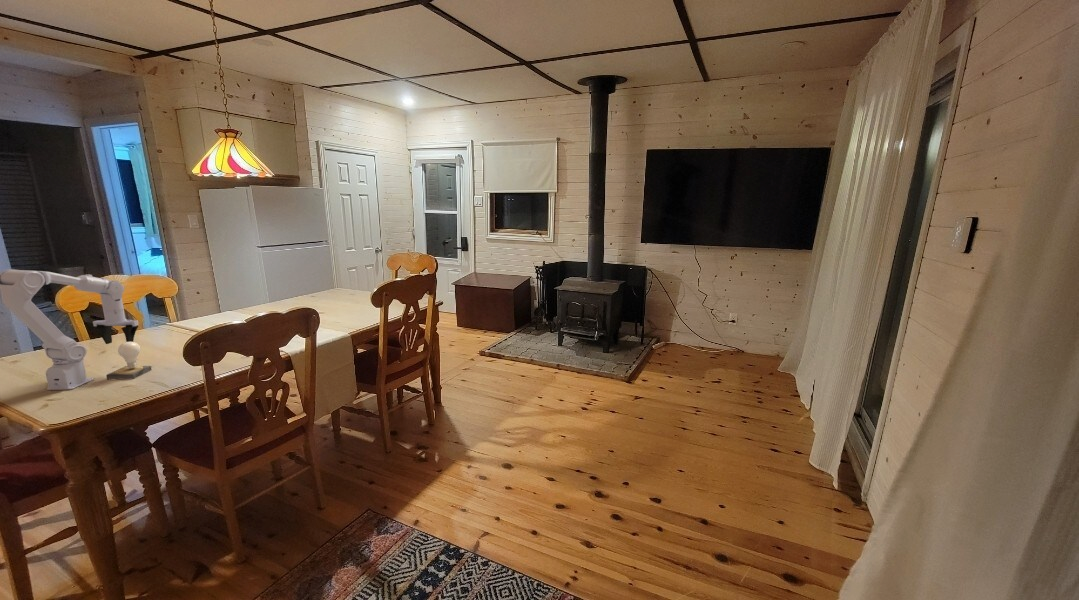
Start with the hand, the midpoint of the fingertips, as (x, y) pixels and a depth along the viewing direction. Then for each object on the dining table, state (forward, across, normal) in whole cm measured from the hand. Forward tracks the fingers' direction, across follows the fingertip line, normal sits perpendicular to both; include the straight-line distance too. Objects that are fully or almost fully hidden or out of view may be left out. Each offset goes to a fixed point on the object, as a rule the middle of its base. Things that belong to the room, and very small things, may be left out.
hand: (119, 343), depth 169 cm
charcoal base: (+10, -8, +8) cm, 15 cm away
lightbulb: (+9, -8, +7) cm, 14 cm away
